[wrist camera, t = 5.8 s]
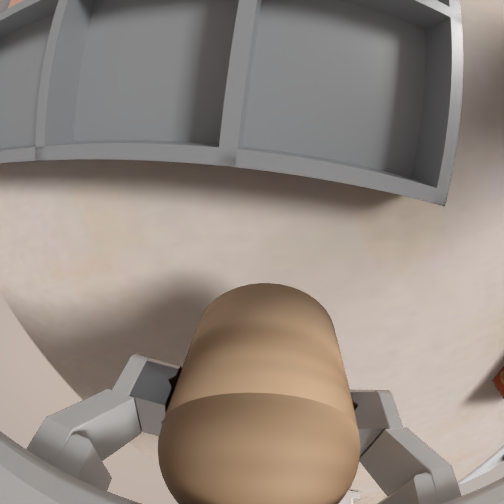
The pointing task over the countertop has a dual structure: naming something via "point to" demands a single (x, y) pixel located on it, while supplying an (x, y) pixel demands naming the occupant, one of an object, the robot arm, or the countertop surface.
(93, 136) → the grey compartment tray
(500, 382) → the carton
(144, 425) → the robot arm
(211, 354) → the tan rounded piece
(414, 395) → the countertop surface
